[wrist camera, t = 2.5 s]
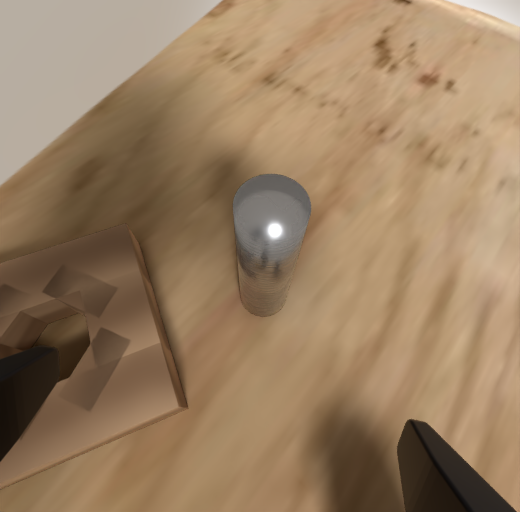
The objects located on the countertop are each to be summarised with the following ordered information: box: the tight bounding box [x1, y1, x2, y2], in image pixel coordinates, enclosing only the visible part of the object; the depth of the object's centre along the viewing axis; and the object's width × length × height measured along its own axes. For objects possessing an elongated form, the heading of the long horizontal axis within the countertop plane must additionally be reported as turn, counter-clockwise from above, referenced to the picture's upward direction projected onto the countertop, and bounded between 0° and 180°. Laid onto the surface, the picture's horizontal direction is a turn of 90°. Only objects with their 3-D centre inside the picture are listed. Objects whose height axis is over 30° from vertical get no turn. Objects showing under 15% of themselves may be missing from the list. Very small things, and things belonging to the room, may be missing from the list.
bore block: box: [0, 223, 188, 489], centre depth 21 cm, size 12×12×3 cm
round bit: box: [233, 174, 311, 317], centre depth 19 cm, size 3×3×11 cm
